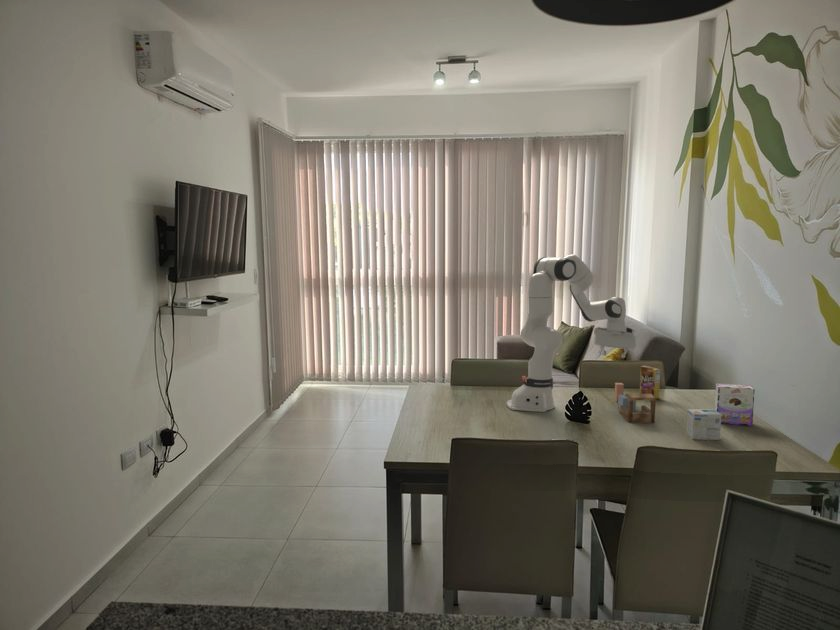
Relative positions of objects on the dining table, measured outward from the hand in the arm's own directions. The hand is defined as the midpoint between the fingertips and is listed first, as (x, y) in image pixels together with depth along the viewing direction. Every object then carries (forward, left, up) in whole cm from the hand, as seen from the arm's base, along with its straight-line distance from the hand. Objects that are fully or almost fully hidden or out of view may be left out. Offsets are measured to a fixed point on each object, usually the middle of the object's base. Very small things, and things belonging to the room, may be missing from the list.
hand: (613, 356), depth 269 cm
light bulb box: (+19, -56, -21) cm, 63 cm away
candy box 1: (+19, +1, -21) cm, 28 cm away
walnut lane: (+1, -33, -21) cm, 39 cm away
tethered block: (+1, -14, -21) cm, 26 cm away
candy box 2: (+40, -38, -21) cm, 59 cm away
